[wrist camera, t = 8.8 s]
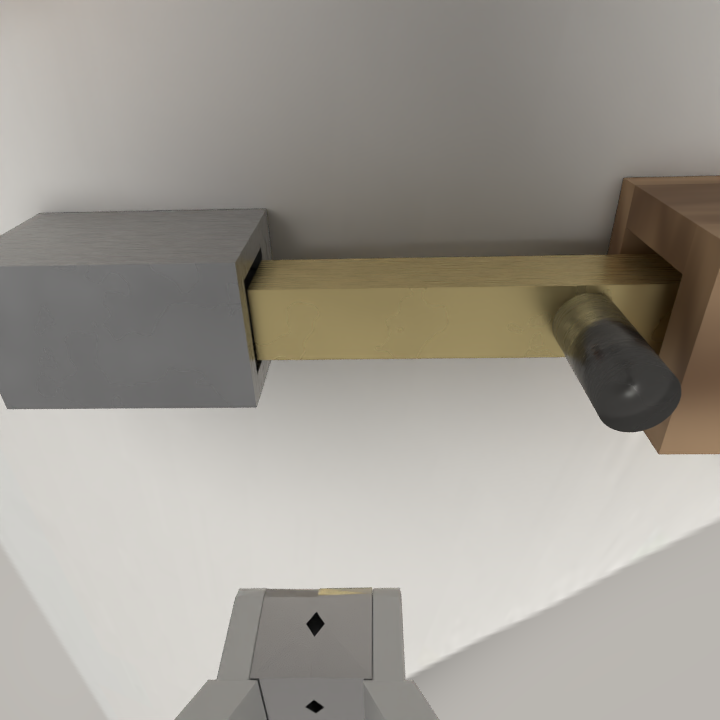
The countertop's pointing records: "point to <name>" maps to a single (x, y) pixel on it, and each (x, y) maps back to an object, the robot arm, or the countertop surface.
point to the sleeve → (131, 310)
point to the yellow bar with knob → (484, 318)
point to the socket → (682, 296)
